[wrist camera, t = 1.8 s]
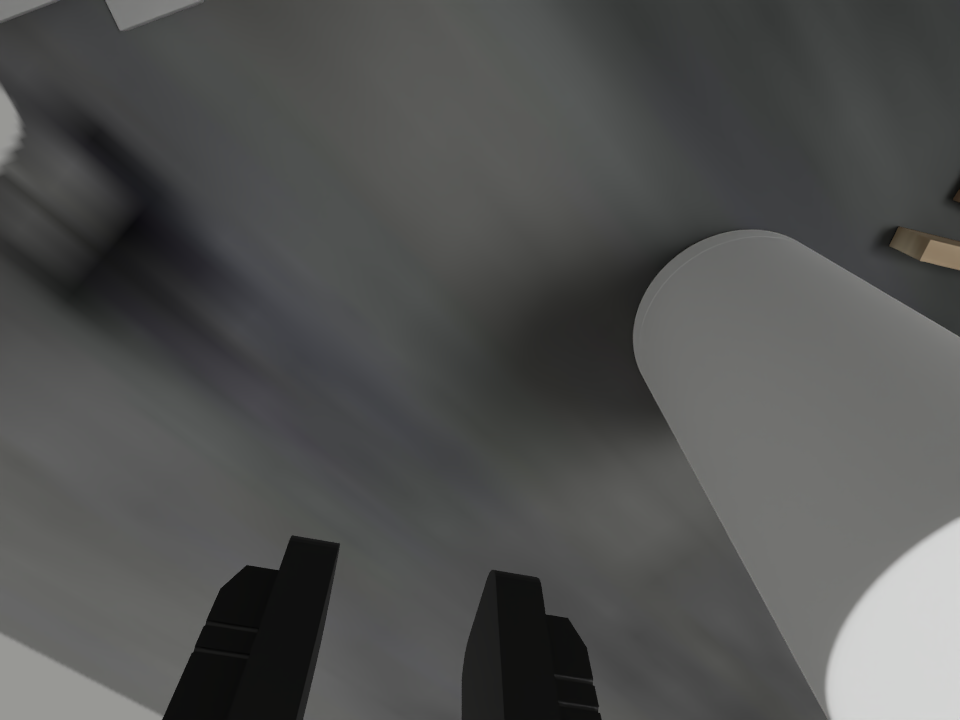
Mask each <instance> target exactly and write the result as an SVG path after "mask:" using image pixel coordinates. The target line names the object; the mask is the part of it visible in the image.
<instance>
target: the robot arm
mask: <svg viewBox="0 0 960 720" xmlns="http://www.w3.org/2000/svg"><path fill="white" fill-rule="evenodd" d="M339 547H340V543H334V542H328V541H322V540H316V539H310V538H304V537H298V536H293V535H292V536H291V538H290V540H289V543H288V546H287V549H286V552H285V555H284V557H283V560H282V563H281V566H280V569H279V570H273V569H267V568H261V567H255V566H249V565H246V566H245V567H244V568H243V569H242V570H241V571H240V572H239V573H237V574H236V575H235V576H234V577H233V578H232V579H231V580H230V581H229V582H227V583H226V584H225V585H224V586H223V587H222V588H221V589H220V591H219V593H218V595H217V598H216V600H215V602H214V604H213V607H212V609H211V611H210V613H209V616H208V618H207V621H206V625H205V626H204V627H203V629H202V631H201V634H200V636H199V638H198V640H197V643H196V645H195V649H194V652H193V653H192V654H191V656H190V658H189V661H188V663H187V665H186V667H185V670H184V672H183V674H182V676H181V679H180V681H179V683H178V685H177V688H176V690H175V692H174V694H173V697H172V699H171V701H170V703H169V706H168V708H167V710H166V712H165V715H164V717H163V719H162V720H303V717H304V713H305V709H306V705H307V700H308V696H309V692H310V688H311V683H312V679H313V675H314V671H315V666H316V662H317V658H318V653H319V649H320V644H321V640H322V635H323V630H324V626H325V621H326V615H327V610H328V605H329V600H330V595H331V589H332V584H333V579H334V574H335V569H336V563H337V558H338V553H339ZM598 707H599V705H598V700H597V695H596V691H595V686H593V676H592V671H591V666H590V661H589V656H588V652H587V647H586V646H585V644H584V643H583V641H582V639H581V638H580V636H579V635H578V633H577V632H576V630H575V628H574V627H573V625H572V624H571V622H570V621H569V619H568V618H564V617H558V616H552V615H546V614H545V607H544V600H543V594H542V587H541V582H540V580H539V578H537V577H532V576H526V575H520V574H514V573H508V572H502V571H497V570H491V571H490V573H489V575H488V578H487V581H486V584H485V587H484V590H483V594H482V597H481V600H480V603H479V606H478V610H477V613H476V616H475V619H474V623H473V626H472V629H471V632H470V636H469V639H468V642H467V647H466V651H465V657H464V664H463V673H462V720H601V715H600V713H598Z"/></svg>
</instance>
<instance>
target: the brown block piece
mask: <svg viewBox="0 0 960 720" xmlns="http://www.w3.org/2000/svg"><path fill="white" fill-rule="evenodd" d="M953 200H954V201H956V202H959V203H960V189H959V190H958V192H957V193H956V195H955V197H954V198H953Z"/></svg>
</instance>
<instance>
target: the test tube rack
mask: <svg viewBox="0 0 960 720" xmlns="http://www.w3.org/2000/svg"><path fill="white" fill-rule="evenodd" d="M58 1H60V0H0V23H3V22H5V21H8V20H11V19H13V18H16V17H19V16H21V15H24V14H26V13H29V12H32V11H34V10H37V9H40V8H42V7H45V6H47V5H50V4H53V3H55V2H58ZM105 1H106V3H107V5H108V7H109V9H110V11H111V13H112V15H113V18H114V20H115V22H116V24H117V26H118V28H119V30H120V31H129V30H131V29H134V28H137V27H139V26H142V25H145V24H148V23H150V22H153V21H155V20H158V19H161V18H163V17H166V16H169V15H171V14H174V13H177V12H180V11H182V10H185V9H188V8H190V7H193V6H196V5H198V4H201V3H203V2H204V0H105Z"/></svg>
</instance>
